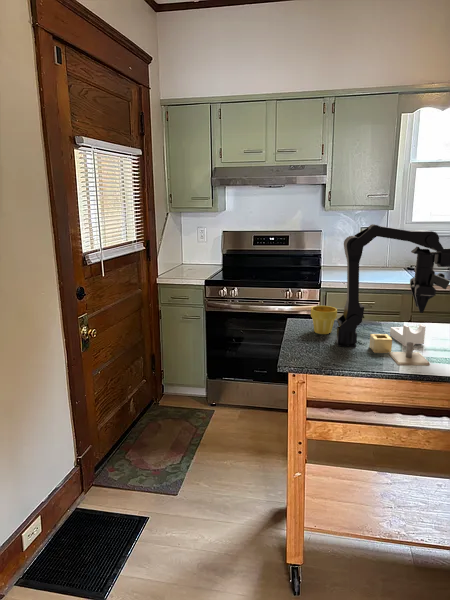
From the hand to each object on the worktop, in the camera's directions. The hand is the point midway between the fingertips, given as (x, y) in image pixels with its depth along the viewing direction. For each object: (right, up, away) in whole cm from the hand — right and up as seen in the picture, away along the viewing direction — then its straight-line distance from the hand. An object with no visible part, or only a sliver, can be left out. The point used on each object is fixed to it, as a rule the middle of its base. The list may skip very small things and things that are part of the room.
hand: (419, 309), depth 161 cm
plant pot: (-30, -10, +21) cm, 38 cm away
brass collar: (-14, -14, -1) cm, 20 cm away
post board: (-8, -17, -10) cm, 21 cm away
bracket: (-1, -12, +10) cm, 16 cm away
